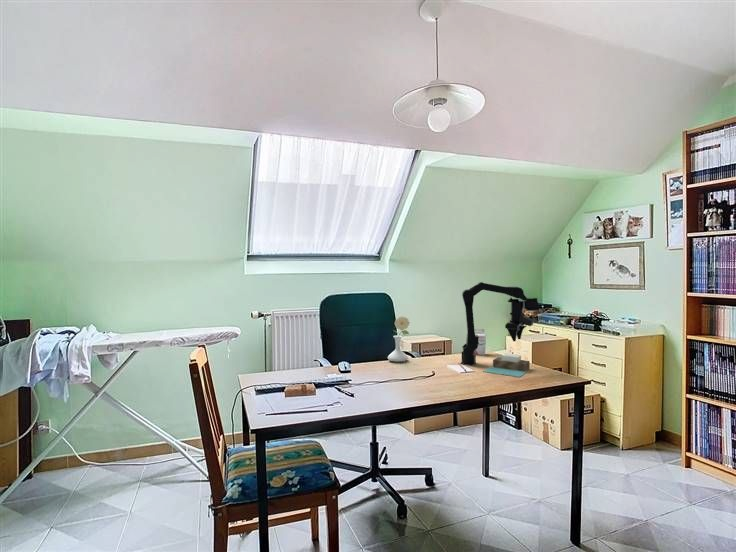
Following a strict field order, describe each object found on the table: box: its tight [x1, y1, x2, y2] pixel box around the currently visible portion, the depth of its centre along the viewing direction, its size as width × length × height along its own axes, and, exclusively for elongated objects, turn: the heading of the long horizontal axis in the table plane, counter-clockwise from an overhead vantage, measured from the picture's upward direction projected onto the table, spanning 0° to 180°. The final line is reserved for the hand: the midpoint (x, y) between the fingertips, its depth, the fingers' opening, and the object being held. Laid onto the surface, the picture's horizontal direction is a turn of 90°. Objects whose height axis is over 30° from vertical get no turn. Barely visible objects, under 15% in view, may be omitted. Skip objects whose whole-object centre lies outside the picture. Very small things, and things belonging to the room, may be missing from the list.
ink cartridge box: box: [474, 328, 487, 356], centre depth 253 cm, size 9×5×15 cm, turn 84°
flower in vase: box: [387, 316, 410, 363], centre depth 237 cm, size 13×11×25 cm
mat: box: [482, 366, 527, 378], centre depth 212 cm, size 18×11×1 cm, turn 53°
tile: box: [501, 353, 522, 362], centre depth 220 cm, size 8×6×2 cm
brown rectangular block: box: [492, 356, 530, 372], centre depth 220 cm, size 16×8×4 cm, turn 53°
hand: (516, 340), depth 226 cm, fingers open, 7 cm apart
